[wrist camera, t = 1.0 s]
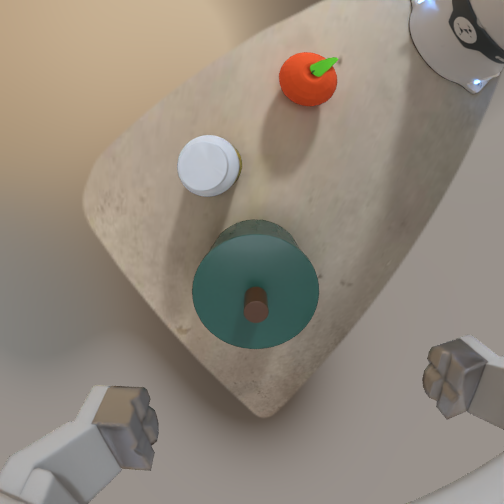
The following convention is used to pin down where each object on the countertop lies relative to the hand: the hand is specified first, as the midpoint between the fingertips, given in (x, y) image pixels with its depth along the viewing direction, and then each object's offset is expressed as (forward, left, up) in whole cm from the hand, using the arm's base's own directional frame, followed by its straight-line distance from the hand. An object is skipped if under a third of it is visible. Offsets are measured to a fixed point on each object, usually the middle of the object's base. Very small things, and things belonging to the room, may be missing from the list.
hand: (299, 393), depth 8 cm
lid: (+5, +6, -24) cm, 26 cm away
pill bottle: (+2, -8, -34) cm, 35 cm away
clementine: (-14, -11, -34) cm, 38 cm away
